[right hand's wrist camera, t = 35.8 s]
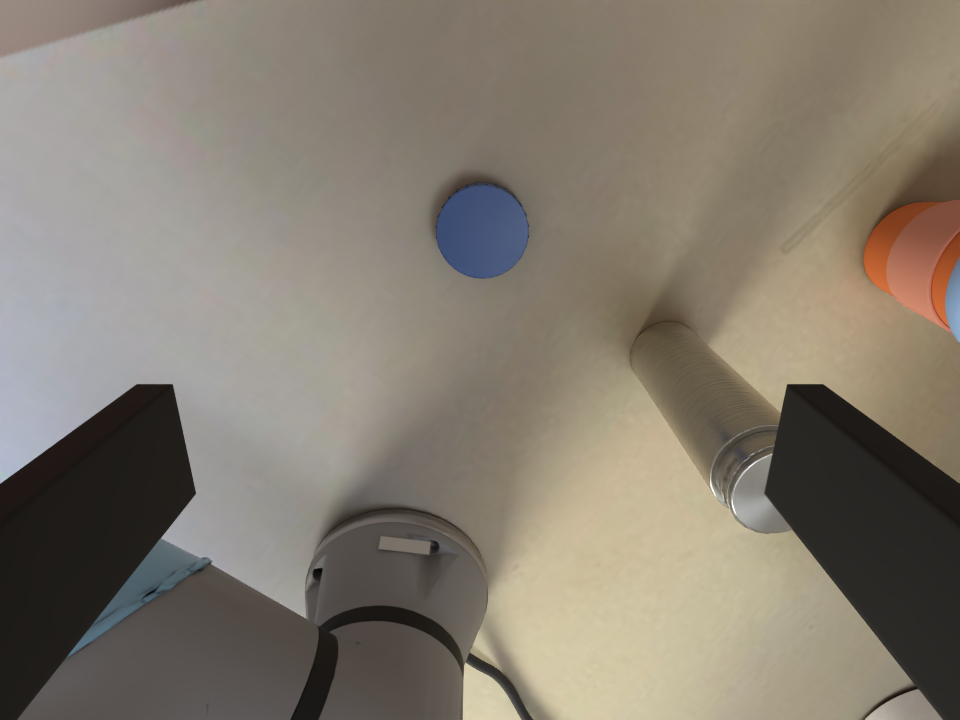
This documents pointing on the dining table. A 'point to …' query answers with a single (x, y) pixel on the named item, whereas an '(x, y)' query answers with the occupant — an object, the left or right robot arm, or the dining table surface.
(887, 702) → the left robot arm
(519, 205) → the lid
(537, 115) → the dining table surface
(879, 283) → the cup with straw
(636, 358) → the silver metal cylinder
